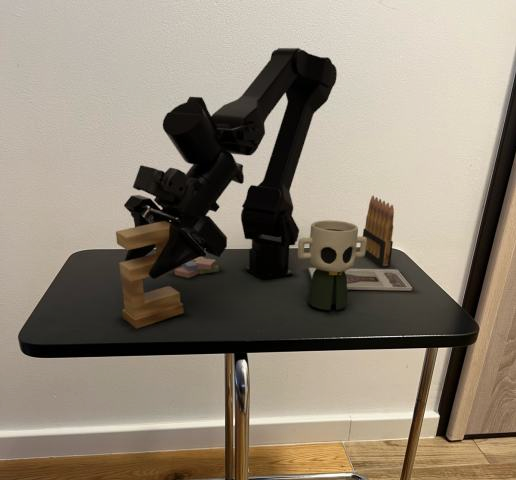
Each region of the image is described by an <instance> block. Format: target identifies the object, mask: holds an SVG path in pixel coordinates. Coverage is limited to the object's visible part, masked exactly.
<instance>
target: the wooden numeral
mask: <svg viewBox="0 0 516 480" xmlns="http://www.w3.org/2000/svg"><path fill="white" fill-rule="evenodd" d="M171 225H172V224H171ZM169 226H170V223H168V222H166V221H162V222H157V223H152V224H148V225H143V226H138V227H135V226H134V227H129V228H125V229H120V230H116V231H115V239H116V244H117V245H118V246H120V247H122V248H123V249H124V250H126V251H128V250H131V249H135V248H139V247H144V246H148V245H152V244H155V245H156V248H155V253H152V254H149V255H148V254H147V255H146V256H144V257H140V258H136V259H132V260H128V261H125V260H124V261H120V262H119V274H120V281H121V288H122V289H121V290H122V297H123V304H124V305H123V306H124V308H122V309H121V310H122V319H123V320H124V321H125V322H127V323H128V324H129V325H131V326H132V327H133V328H134V329H136V330H137V329H140V328H144V327H146V326H149V325H150V326H151V325H152V324H157V323H158V322H161V321H164V320H168V319H171V318H173V317H177V316H179V315H182V314H184V313H185V312H184V304H183V303H182V302H181V293H180V292H179V291H178V290H176V289H175V288H173V287H171V286H170V285H167V286H164V287H161V288H156V289H154V290H150V291H146V292H144V281H143V280H144V279H146V278H151V277H150V276H149V272H150V270H151V268H152V266H153V264H154V263H155V261H156V259H157V258H158V256H159V255H160V253H161V252H162V250H163V249H164V247H165V245H166V244H167V242H168V240H169ZM178 268H179V267H177V268H175V269H178ZM175 269H173V270H171V271H175ZM171 271H170V272H171Z"/></svg>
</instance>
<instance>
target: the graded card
mask: <svg viewBox="0 0 516 480" xmlns="http://www.w3.org/2000/svg"><path fill="white" fill-rule="evenodd" d="M315 270H316V268H314V267H308V273H309V275H310V279H311V280H312V277H313V273H314V271H315ZM345 274H346V277H347V290H359V291H361V290H362V291H406V292H407V291H409V292H410V291H412V290H413V287H412V285H411V284H410V283H409V282H408V281H407V280H406V278H405V277H404V276H403V275H402V274H401V272H400V271H399V270H398V269H389V268H388V269H387V268H350V269H349V270H346V271H345Z"/></svg>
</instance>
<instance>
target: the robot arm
mask: <svg viewBox="0 0 516 480" xmlns="http://www.w3.org/2000/svg"><path fill="white" fill-rule="evenodd" d="M337 71H338V70H337V67H336V66H335V64H333V62H332V59H331V58H330V57H327V56H318V55H315V54H312V53H309V52H307V51H306V50H304V49H301V48H300V47H278V48H277V49H274V50H273V51H272V52H271V54H270V59H269V60H268V62H267V63H266V65H264V67H263V68H262V69H261V70H260V72H259V73H258V74H257V76H256V77H255V78H254V79H253V81H252V82H251V83H250V85H249V86H248V87H247V88H246V90H245V91H244V92H243V93H242V94H241V96H240V97H238V98H237V99H235V100H233V101H230V102H227V103H225V104H223V105H222V106H220V108H218V109H217V110H216V111H214V113H212V114H211V113H210V112H209V110H208V107H207V104H206V102H205V99H204V98H203V97H202V96H189V97H188V99H187V100H186V102H183V103H180V104H179V105H177V106H175V107H174V108H173V109H172V110H170V111H169V112H167V113H166V114H165V116H164V118H163V120H162V129H163V131H164V132H165V134H166V136H167V137H168V138H169V140H170V142H171V143H172V145H173V146H174V148H175V149H176V150H177V152H178V153H179V155H180V157H181V158H182V159H183V161H184V162H186V163H187V164H189V165H191V167H190V168H189V169H188V170H187V171H186V172H184V171H182V170H180V169H178V168H175V167H174V168H173V167H169V168H168V169H167V170H165V171H163V170H160V169H157V168H155V167H150V166H146V165H143V164H142V165H139V168H138V170H137V174H136V177H135V180H134V181H133V185H132V188H133V189H134V190H136V191H143V192H145V193H147V194H149V195H151V196H154V199H153V200H152V198H149V197H147V196H144V195H140V194H136V195H135V194H134V195H130V197H129V198H128V199H127V200H126V201H125V203H124V204H123V205H124V209H126V210H127V211H128V212H129V213H130V216H131V218H132V219H133V224H134V227H138V226H143V225H148V224H152V223H157V222H162V221H166V222H168V223H170V226H169V240H168V242H167V244H166V245H165V247H164V249H163V250H162V252H161V253H160V255H159V256H158V258H157V259H156V261H155V263H154V264H153V266H152V268H151V270H150V272H149V276H150V277H149V278H151V279H153V280H155V279H157V278H159V277H160V276H163V275H165V274H167V273H169V272H171V270H172V271H174V270H173V269H175V268H177V267H178V268H180V267H182V266H181V265H183V264H185V263H187V262H189V261H192V260H194V259H196V258H198V257H204V258H206V256H207V254H210V255H212V256H215V257H218V258H220V257H221V256H222V254H223V253H224V251H225V250H226V249H227V247H228V237H227V236H226V234H225V233H224V232H223V231H222V230H221V229H220V227H219V226H218V224H216V223H215V221H213V219H212V218H211V217H210V216H209V215H207V214H208V213H209V212H210V211H211V212H214V213H217V211H218V210H219V209H220V207H221V206H220V205H219V204H218V203H217V202H218V200H219V198H220V197H221V196H222V195H223V194H224V192H225V190H226V189H227V188H228V186H229V185H230V184H231V182H235V183H236V184H237V183H238V184H240V185H243V184H244V181H245V175H244V171H243V170H244V165H243V164H241V163H238V162H237V161H236V159H235V157H234V156H233V155H238V156H239V155H240V156H250V157H251V156H252V155H253V154H255V152H256V151H257V150H258V148H259V146H260V144H261V142H262V140H263V139H264V137H265V134H266V127H265V126H266V125H265V122H266V120H267V119H268V117H269V116H270V114H271V113H272V111H273V110H274V109H275V108H276V106H277V105H278V104H279V102H280V100H281V99H282V98H283V96H285V97H286V101H287V103H286V106H285V110H284V113H283V116H282V119H281V123H280V125H279V129H278V133H277V135H276V139H275V141H274V144H273V149H272V151H271V155H270V157H269V161H268V164H267V167H266V170H265V174H264V177H263V179H262V181H261V182H260V183H259V184H258V185H254V184H251V185H250V186H249V187H248V189H247V192H246V197H245V200H244V202H243V204H242V205H241V207H242V210H241V213H240V222H241V226H242V230H243V231H242V232H243V237H244V239H245V240H250V241H251V247H250V248H249V254H248V257H249V258H248V266H247V267H246V271H248V272H250V273H251V274H253V275H254V276H256V277H258V278H260V279H261V280H271V279H276V278H284V277H289V276H293V273H294V272H293V271H292V270H290V269H289V261H290V246H295V245H296V242H298V240H299V239H298V238H299V233H300V228H299V227H298V225H297V223H296V220H295V219H294V217H293V212H294V203H293V199H292V196H291V192H290V191H291V187H292V185H293V180H294V178H295V175H296V171H297V168H298V164H299V163H300V158H301V155H302V152H303V148H304V146H305V142H306V139H307V136H308V133H309V129H310V126H311V123H312V120H313V116H314V114H315V113H316V112H317V111H318V110H319V109H320V108H322V106H323V105H325V104H326V103H327V101H328V99H329V98H330V95H331V92H332V90H333V88H334V86H335V85H336V82H337V77H338V73H337ZM160 207H161V208H160ZM171 224H172V225H171ZM155 249H156V245H155V244H152V245H148V246H144V247H139V248H135V249H131V250H127V253H126V255H125V258H124V261H128V260H132V259H136V258H140V257H144V256H148V254H149V253H151V252H152V251H153V250H155Z"/></svg>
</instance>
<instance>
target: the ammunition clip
mask: <svg viewBox="0 0 516 480" xmlns="http://www.w3.org/2000/svg"><path fill="white" fill-rule="evenodd" d="M394 209H395V208H394V205H393V204H391V205H390V203H389V202H387V203H386V201H385V200H383V201H382V199H381V198H380V199H378V197H377V196H376V197H375V195H371V198H370V201H369V205H368V210H367V214H366V216H365V217H366V218H365V226H364V228H363V231H362V237H366V238H367V244H366V252H365V256H364V257H366V258H367V259H369V260H370V261H371V262H372V263H375V264H376V265H377V266H378V267H380V268H390V267H391V261H392V252H393V244H394V241H393V234H394V233H393V232H394V218H395V217H394V216H395V210H394Z"/></svg>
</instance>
